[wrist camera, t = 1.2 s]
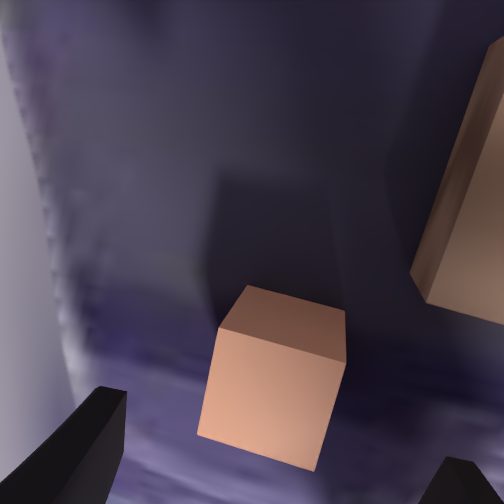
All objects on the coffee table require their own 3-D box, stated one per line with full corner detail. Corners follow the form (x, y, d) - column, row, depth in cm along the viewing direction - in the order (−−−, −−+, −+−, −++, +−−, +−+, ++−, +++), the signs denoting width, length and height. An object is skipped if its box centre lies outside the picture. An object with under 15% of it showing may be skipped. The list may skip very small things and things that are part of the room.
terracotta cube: (320, 396, 21) (314, 471, 16) (229, 370, 21) (196, 434, 16) (344, 310, 19) (346, 363, 15) (247, 284, 20) (218, 327, 15)
